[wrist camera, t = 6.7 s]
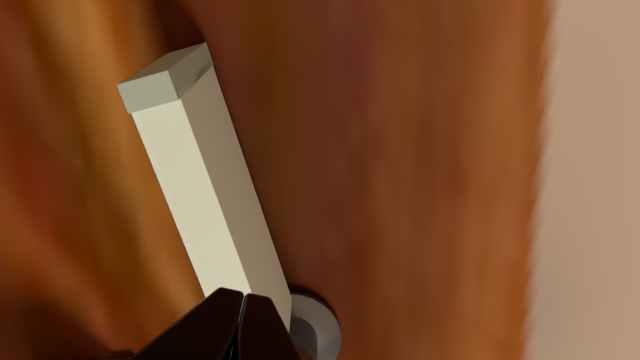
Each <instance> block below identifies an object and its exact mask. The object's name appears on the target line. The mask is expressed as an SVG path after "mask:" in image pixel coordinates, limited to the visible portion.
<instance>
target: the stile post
mask: <svg viewBox="0 0 640 360" xmlns="http://www.w3.org/2000/svg"><path fill="white" fill-rule="evenodd" d="M129 358H131V357H120V358H108V359H95V360H128V359H129Z"/></svg>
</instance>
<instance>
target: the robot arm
mask: <svg viewBox="0 0 640 360" xmlns="http://www.w3.org/2000/svg"><path fill="white" fill-rule="evenodd" d="M243 299H244V300H243ZM242 304H243V305H242ZM241 308H242V309H241ZM239 317H240V318H239ZM231 352H232V353H231ZM128 360H302V358H301V356H300V354H299V352H298V350H297V348H296V346H295V344H294V342H293V340H292V338H291V336H290V334H289V332H288V330H287V328H286V326H285V324H284V322H283V320H282V318H281V316H280V315H279V313H278V311H277V309H276V307H275V305H274V303H273V301H272V299H271V298H270V297H267V296H262V295H257V294H252V293H247V294H246V295H245V297H244V294H243V292H241V291H238V290H233V289H229V288H224V287H219V288H217V289H216V290H215V291H213V292H212V293H211V294H210V295H208V296H207V297H206V298H205V299H203V300H202V301H201V302H200V303H198V304H197V305H196V306H195V307H193V308H192V309H191V310H190V311H188V312H187V313H186V314H185V315H183V316H182V317H181V318H180V319H178V320H177V321H176V322H175V323H173V324H172V325H171V326H170V327H168V328H167V329H166V330H165V331H163V332H162V333H161V334H160V335H158V336H157V337H156V338H155V339H153V340H152V341H151V342H150V343H148V344H147V345H146V346H145V347H143V348H142V349H141V350H140V351H138V352H137V353H136V354H135V355H133V356H132V357H131V358H129V359H128Z"/></svg>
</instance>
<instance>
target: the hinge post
mask: <svg viewBox="0 0 640 360" xmlns="http://www.w3.org/2000/svg"><path fill="white" fill-rule="evenodd" d="M289 292H290V295H291V298H292V303H291V317H290V330H289V334H290V336H291V338H292V340H293V342H294V344H295V346H296V348H297V350H298V352H299V354H300V356H301V358H302V360H335V359H336V357H337V355H338V353H339V350H340V347H341V329H340V324H339V321H338V318H337V316H336V314H335V313H334V312H333V310H332V309H331V308H330V307H329V306H328V305H327V304H326V303H325V302H324V301H322V300H321V299H319V298H318V297H316V296H313V295H311V294H308V293H305V292H301V291H294V290H289Z"/></svg>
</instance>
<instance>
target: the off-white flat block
mask: <svg viewBox="0 0 640 360" xmlns="http://www.w3.org/2000/svg"><path fill="white" fill-rule="evenodd" d="M213 65H214V64H213V61H212V58H211V55H210V52H209V49H208V47H207V44H206V42H205V43H202V44H198V45H195V46H191V47H188V48H184V49H181V50H177V51H174V52H170V53H167V54H166V55H164V56H162V57H161V58H159V59H158V60H156V61H154V62H153V63H151V64H149V65H148V66H146V67H145V68H143V69H141V70H140V71H138V72H137V73H135V74H133V75H132V76H130V77H128V78H127V79H125V80H124V81H122V82H120V83H119V84H117V87H118V89H119V92H120V94H121V97H122V99H123V102H124V104H125V106H126V109H127V111H128V114H130V113H131V114H132V116H133V119H134V121H135V123H136V126H137V128H138V131H139V133H140V136H141V138H142V141H143V143H144V146H145V148H146V151H147V153H148V156H149V158H150V161H151V163H152V166H153V168H154V171H155V173H156V175H157V178H158V180H159V183H160V185H161V188H162V190H163V193H164V195H165V198H166V200H167V203H168V205H169V208H170V210H171V213H172V215H173V218H174V220H175V223H176V225H177V227H178V230H179V232H180V235H181V237H182V240H183V242H184V245H185V247H186V250H187V252H188V255H189V257H190V260H191V262H192V265H193V267H194V270H195V272H196V274H197V277H198V279H199V282H200V284H201V287H202V289H203V292H204V294H205V297H207V296H208V295H210V294H211V293H212V292H213V291H215V290H216V289H217V288H219V287H224V288H229V289H233V290H238V291H241V292H243V294H244V297H245V295H246V294H247V293H252V294H257V295H262V296H267V297H270V298H271V299H272V301H273V303H274V305H275V307H276V309H277V311H278V313H279V315H280V316H281V318H282V320H283V322H284V324H285V326H286V328H287V330H288V332H289V330H290V317H291V303H292V298H291V295H290V292H289V289H288V286H287V283H286V280H285V277H284V274H283V271H282V268H281V265H280V262H279V259H278V256H277V254H276V251H275V248H274V245H273V242H272V239H271V236H270V233H269V230H268V227H267V224H266V221H265V218H264V215H263V212H262V209H261V206H260V203H259V201H258V198H257V195H256V192H255V189H254V186H253V183H252V180H251V177H250V174H249V171H248V168H247V165H246V162H245V159H244V156H243V153H242V150H241V148H240V145H239V142H238V139H237V136H236V133H235V130H234V127H233V124H232V121H231V118H230V115H229V112H228V109H227V106H226V103H225V100H224V98H223V95H222V92H221V89H220V86H219V83H218V80H217V77H216V74H215V71H214V68H213ZM243 300H244V299H243ZM242 305H243V304H242ZM241 309H242V308H241ZM239 318H240V317H239ZM231 353H232V352H231Z"/></svg>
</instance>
